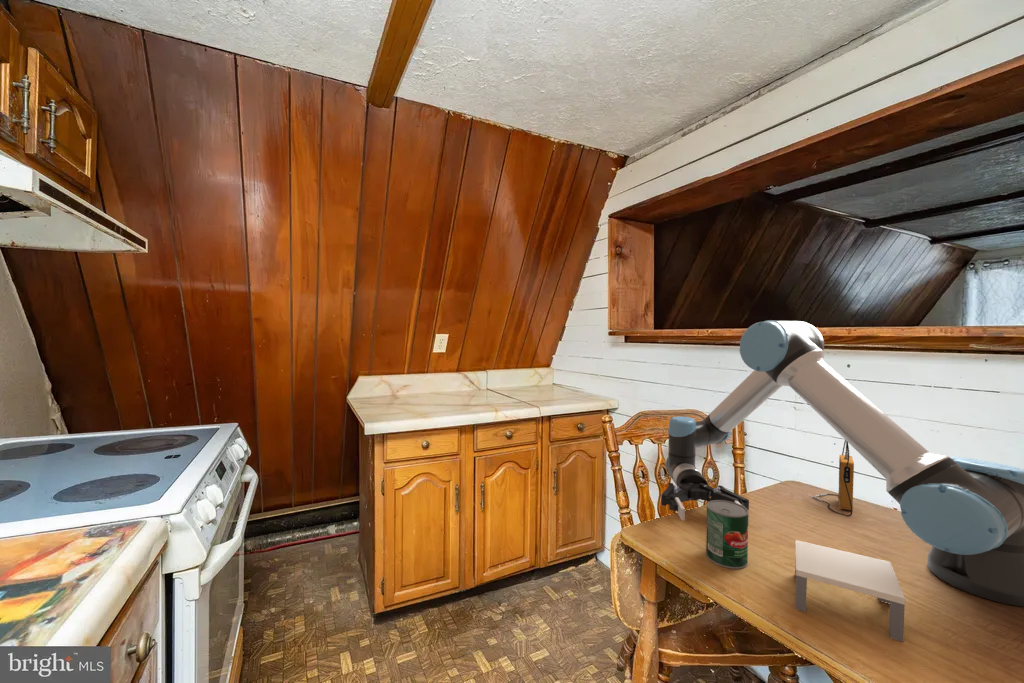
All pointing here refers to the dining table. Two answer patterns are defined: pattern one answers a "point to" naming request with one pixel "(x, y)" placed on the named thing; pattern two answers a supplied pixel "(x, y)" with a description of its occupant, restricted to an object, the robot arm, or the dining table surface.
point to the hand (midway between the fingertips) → (714, 516)
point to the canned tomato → (727, 534)
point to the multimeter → (844, 482)
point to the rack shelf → (850, 578)
